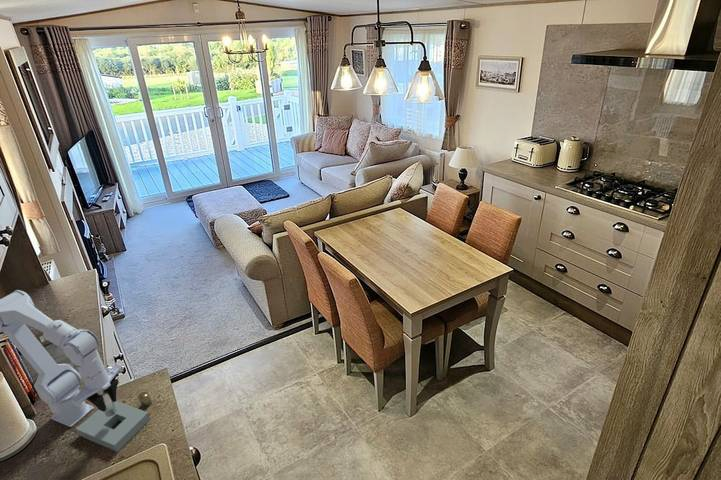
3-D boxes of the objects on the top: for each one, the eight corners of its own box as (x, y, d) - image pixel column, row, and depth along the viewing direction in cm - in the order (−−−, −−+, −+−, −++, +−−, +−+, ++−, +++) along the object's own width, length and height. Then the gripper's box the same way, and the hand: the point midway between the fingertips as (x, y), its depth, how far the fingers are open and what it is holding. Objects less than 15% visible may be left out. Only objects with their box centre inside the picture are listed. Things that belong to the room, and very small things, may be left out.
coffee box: (51, 369, 149) (34, 334, 141) (71, 360, 153) (55, 326, 145) (57, 382, 143) (39, 347, 135) (78, 372, 147) (61, 337, 139)
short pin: (139, 406, 132) (136, 397, 130) (147, 399, 134) (143, 390, 132) (146, 409, 131) (142, 400, 129) (153, 402, 133) (150, 393, 131)
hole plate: (79, 435, 123) (75, 428, 121) (114, 405, 133) (111, 398, 131) (117, 452, 117) (114, 445, 116) (150, 419, 127) (148, 412, 126)
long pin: (103, 414, 121) (94, 394, 118) (113, 407, 124) (104, 387, 120) (108, 418, 120) (99, 398, 116) (118, 411, 122) (110, 391, 119)
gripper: (77, 393, 107) (95, 429, 113) (124, 356, 119) (137, 390, 125) (59, 386, 109) (77, 421, 115) (107, 351, 121) (121, 384, 127)
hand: (107, 405), depth 120 cm, fingers closed on long pin, 3 cm apart
